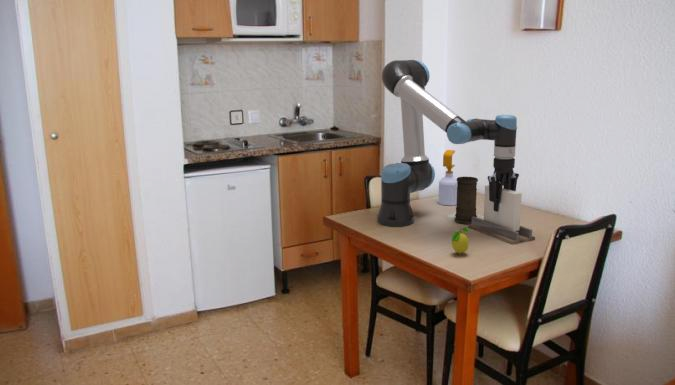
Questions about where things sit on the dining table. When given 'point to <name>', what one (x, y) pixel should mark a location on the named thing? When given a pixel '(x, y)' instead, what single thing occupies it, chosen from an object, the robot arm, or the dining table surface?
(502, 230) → the track plinth
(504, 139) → the robot arm
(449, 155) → the soap bottle
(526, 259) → the dining table surface
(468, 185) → the container
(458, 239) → the lemon
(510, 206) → the door panel
